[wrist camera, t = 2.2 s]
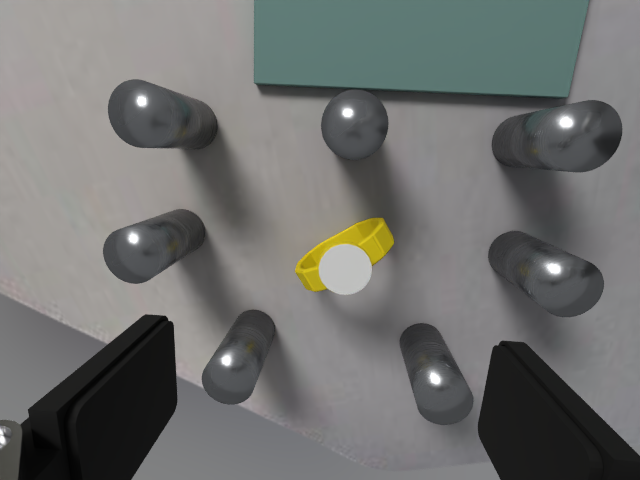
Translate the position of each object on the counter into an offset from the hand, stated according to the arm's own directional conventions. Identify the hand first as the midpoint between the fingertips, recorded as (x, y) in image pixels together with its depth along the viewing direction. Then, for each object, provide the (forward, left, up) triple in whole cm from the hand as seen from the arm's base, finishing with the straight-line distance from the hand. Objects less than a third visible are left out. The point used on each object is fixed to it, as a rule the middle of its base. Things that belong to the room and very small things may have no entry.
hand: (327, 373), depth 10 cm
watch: (0, 0, -14) cm, 14 cm away
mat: (-3, -15, -14) cm, 20 cm away
